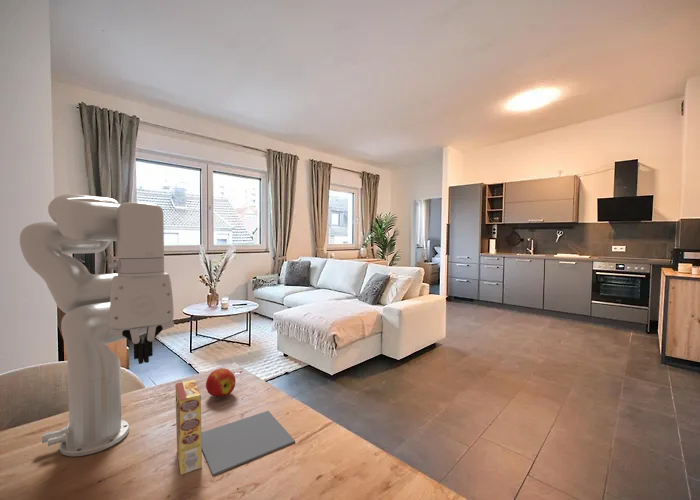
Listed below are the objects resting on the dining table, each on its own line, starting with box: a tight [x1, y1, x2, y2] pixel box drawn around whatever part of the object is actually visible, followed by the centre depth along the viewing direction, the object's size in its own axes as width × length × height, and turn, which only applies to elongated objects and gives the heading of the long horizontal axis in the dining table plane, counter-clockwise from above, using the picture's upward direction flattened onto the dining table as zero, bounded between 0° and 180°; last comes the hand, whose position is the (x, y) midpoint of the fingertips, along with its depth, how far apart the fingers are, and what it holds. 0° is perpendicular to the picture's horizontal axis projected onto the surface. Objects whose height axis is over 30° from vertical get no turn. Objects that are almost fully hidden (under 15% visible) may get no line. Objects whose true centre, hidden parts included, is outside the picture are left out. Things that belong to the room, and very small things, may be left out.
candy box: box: [175, 379, 203, 476], centre depth 68 cm, size 9×4×15 cm, turn 33°
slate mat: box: [201, 410, 296, 477], centre depth 75 cm, size 18×16×1 cm
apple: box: [205, 367, 237, 399], centre depth 96 cm, size 8×8×8 cm
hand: (143, 360), depth 62 cm, fingers closed
